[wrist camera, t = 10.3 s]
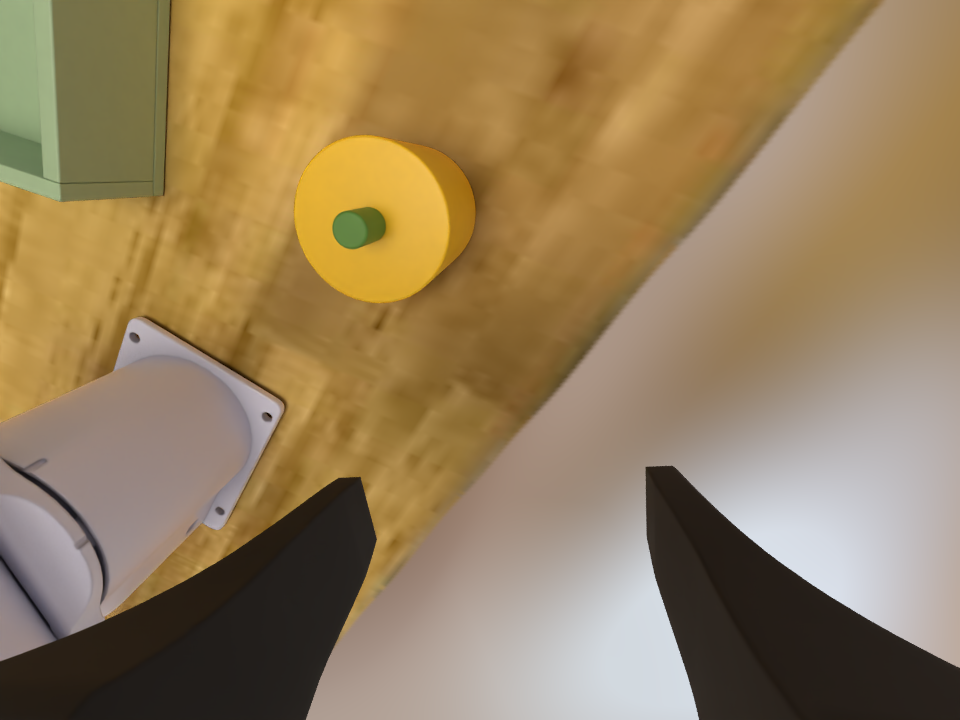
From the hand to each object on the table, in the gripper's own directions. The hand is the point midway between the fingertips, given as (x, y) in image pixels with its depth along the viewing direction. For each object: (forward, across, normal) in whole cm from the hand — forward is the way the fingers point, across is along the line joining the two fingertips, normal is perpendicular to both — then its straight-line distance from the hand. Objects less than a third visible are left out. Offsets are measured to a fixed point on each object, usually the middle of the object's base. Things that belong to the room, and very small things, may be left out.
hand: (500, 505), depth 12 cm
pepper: (+9, +4, -7) cm, 12 cm away
